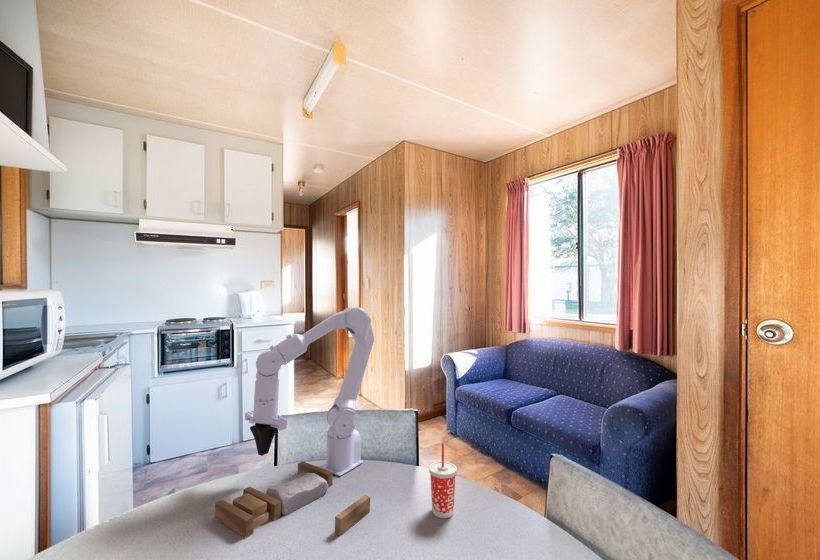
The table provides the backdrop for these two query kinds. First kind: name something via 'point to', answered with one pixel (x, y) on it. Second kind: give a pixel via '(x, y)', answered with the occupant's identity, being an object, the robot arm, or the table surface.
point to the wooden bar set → (245, 521)
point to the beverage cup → (442, 487)
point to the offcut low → (261, 520)
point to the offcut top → (251, 505)
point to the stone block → (298, 491)
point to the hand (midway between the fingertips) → (263, 453)
